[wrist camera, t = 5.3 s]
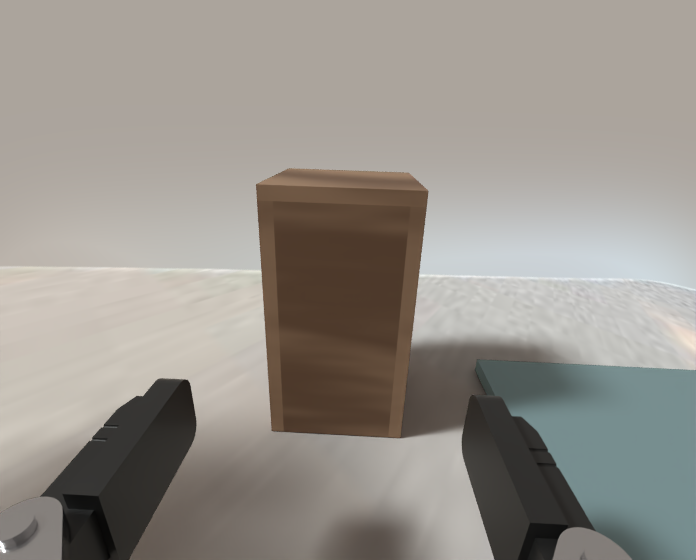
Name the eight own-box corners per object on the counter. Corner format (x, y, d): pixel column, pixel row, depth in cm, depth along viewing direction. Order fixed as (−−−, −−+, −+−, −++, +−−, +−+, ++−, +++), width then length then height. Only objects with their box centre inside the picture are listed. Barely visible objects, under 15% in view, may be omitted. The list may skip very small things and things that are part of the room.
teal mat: (475, 369, 23) (477, 359, 23) (697, 381, 23) (703, 370, 23) (615, 669, 10) (624, 654, 10) (1133, 705, 10) (1159, 691, 10)
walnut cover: (294, 356, 24) (288, 168, 19) (391, 361, 24) (408, 172, 19) (271, 430, 18) (255, 184, 13) (400, 437, 18) (428, 190, 13)
